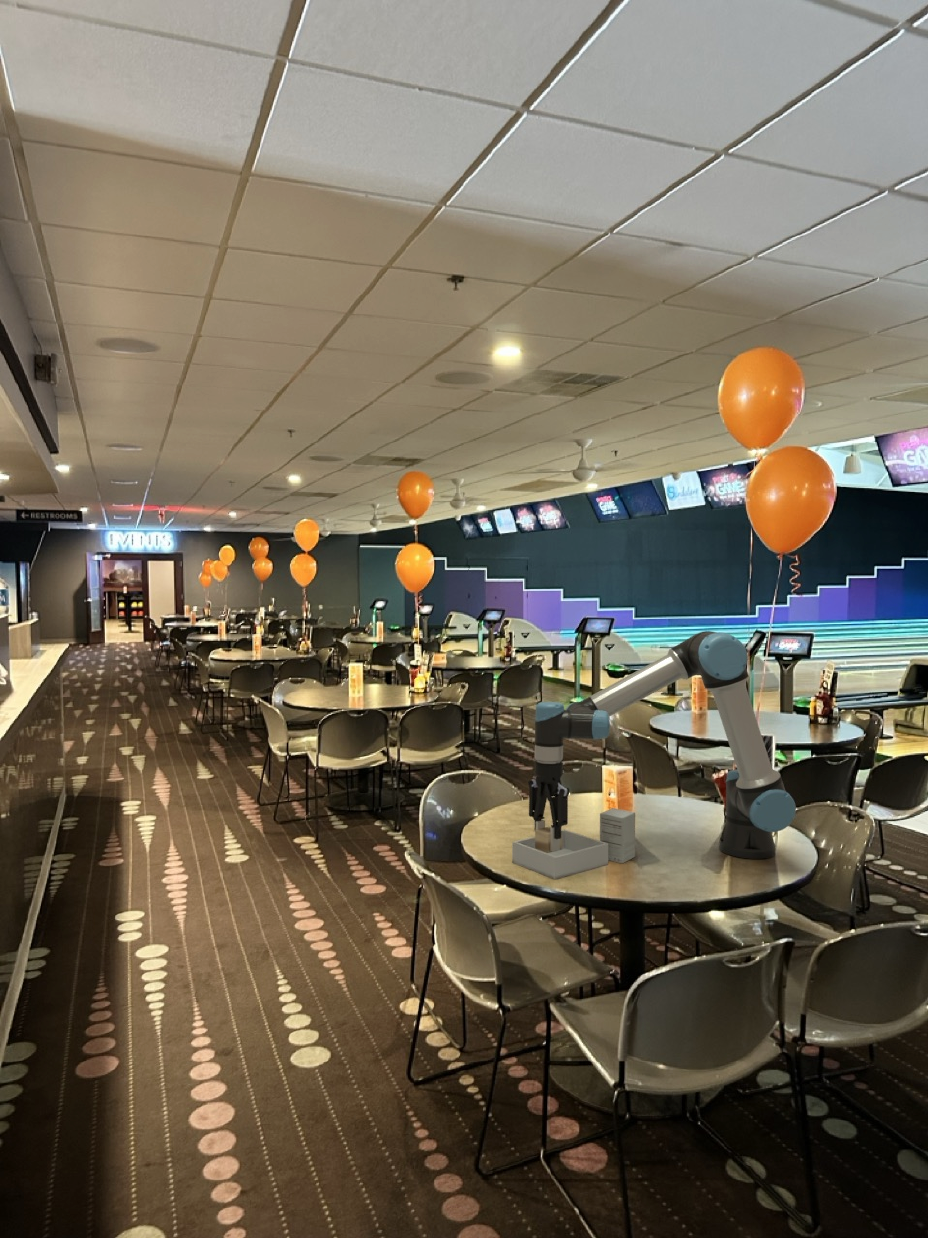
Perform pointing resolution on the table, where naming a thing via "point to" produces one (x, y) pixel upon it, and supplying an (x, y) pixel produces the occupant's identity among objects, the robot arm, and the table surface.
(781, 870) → the table surface
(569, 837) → the tote
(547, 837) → the maple block
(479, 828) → the table surface
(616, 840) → the supplement box
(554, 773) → the robot arm
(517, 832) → the table surface
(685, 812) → the table surface
